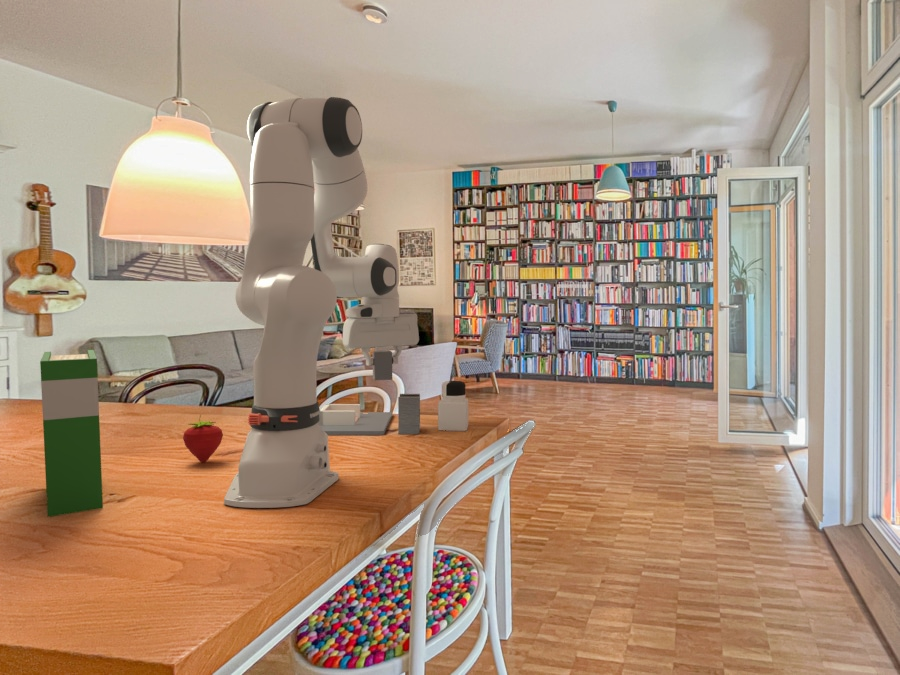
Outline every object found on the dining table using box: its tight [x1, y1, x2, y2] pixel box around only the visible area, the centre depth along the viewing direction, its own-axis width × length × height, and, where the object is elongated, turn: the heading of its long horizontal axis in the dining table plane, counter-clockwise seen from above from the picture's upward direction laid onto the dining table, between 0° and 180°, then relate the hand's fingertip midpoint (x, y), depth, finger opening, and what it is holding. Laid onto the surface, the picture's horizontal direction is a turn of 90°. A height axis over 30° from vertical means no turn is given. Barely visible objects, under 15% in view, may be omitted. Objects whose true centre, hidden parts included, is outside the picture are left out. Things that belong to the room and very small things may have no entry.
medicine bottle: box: [437, 380, 469, 432], centre depth 157 cm, size 7×7×12 cm
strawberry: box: [182, 414, 224, 463], centre depth 125 cm, size 6×8×10 cm
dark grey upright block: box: [397, 393, 421, 435], centre depth 153 cm, size 6×5×9 cm
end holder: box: [318, 403, 393, 436], centre depth 161 cm, size 24×24×4 cm
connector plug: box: [372, 346, 393, 381], centre depth 156 cm, size 4×4×9 cm
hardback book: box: [39, 349, 104, 517], centre depth 103 cm, size 18×7×24 cm, turn 31°
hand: (382, 364), depth 156 cm, fingers closed on connector plug, 5 cm apart
